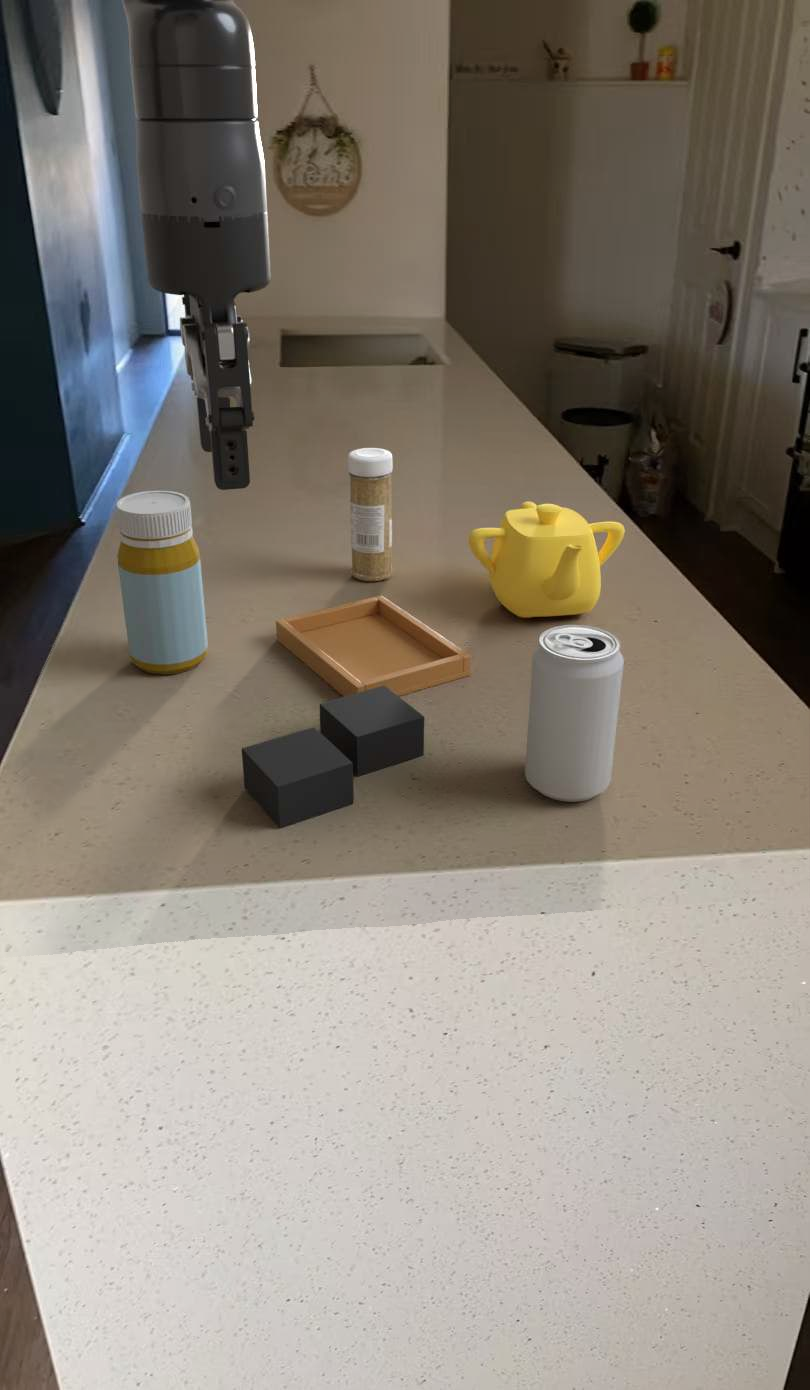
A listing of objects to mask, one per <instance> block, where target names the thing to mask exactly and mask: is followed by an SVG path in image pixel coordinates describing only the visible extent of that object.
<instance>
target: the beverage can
mask: <svg viewBox="0 0 810 1390" xmlns="http://www.w3.org/2000/svg"><path fill="white" fill-rule="evenodd" d="M620 648H621V642H620V640H619V639H618V637H617V636H616V635H614V634H613V633H611V632H609V631H607V630H605V629H602V628H600V627H595V626H590V625H584V624H564V625H560V626H559V625H558V626H554V627H551V628H549V629H547V630H544V631H543V632H542V633H541V634H540V636H539V639H538V645H537V646H536V647H535V649H534V650H533V652H532V662H531V677H530V691H529V707H528V720H527V721H528V722H527V735H526V752H525V764H524V765H525V766H524V767H525V768H524V775H525V778H526V780H527V782H528V783H529V784H530V786H532V788H533V789H535V790H537V791H538V792H539V793H540V794H542V795H543V796H545V797H547V798H550V799H552V800H555V801H560V802H567V803H579V802H584V801H588V800H591V799H593V798H595V797H596V796H598V795H600V794H602V793H603V792H605V791H606V790H607V789H608V787H609V786H610V783H611V781H612V780H611V779H612V773H613V772H612V771H613V763H614V753H615V743H616V734H617V727H618V726H617V725H618V718H619V717H618V716H619V708H620V702H621V701H620V699H621V691H622V682H623V673H624V663H625V661H624V660H625V659H624V656H623V655H622V653H621V649H620Z"/></svg>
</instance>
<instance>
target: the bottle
mask: <svg viewBox="0 0 810 1390" xmlns="http://www.w3.org/2000/svg"><path fill="white" fill-rule="evenodd" d="M115 510H116V518H117V526H118V529H119V532H118V533H119V540H120V543H119V547H118V551H117V554H116V556H117V566H118V574H119V582H120V589H121V590H120V591H121V597H122V599H121V600H122V605H123V606H122V607H123V612H124V613H123V614H124V621H125V622H124V623H125V629H126V636H127V646H128V653H129V657H130V661H131V662H132V663H133V664H134V665H135V666H136V667H138V668H139V669H140V670H141V671H144V672H146V673H149V674H154V675H174V674H175V675H176V674H181V673H184V672H187V671H190V670H192V669H195V668H196V667H198V666H199V665H200V664H201V663H202V662H203V661H204V660H205V658H206V657H207V655H208V652H209V648H208V642H209V641H208V631H207V621H206V620H207V619H206V610H205V609H206V608H205V599H204V598H205V597H204V586H203V576H202V563H201V562H202V561H201V556H200V555H201V554H200V550H199V546H198V544H197V543H196V541H195V538H194V536H193V525H192V523H193V521H192V520H193V519H192V508H191V501H190V498H189V496H187V495H186V494H183V493H181V492H177V491H171V490H146V491H140V492H134V493H131V494H127V495H125V496H123V497H121V498H119V500H117V502H116V505H115Z"/></svg>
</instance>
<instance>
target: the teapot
mask: <svg viewBox="0 0 810 1390" xmlns="http://www.w3.org/2000/svg"><path fill="white" fill-rule="evenodd" d="M594 533H607V537H606V540H605V542H604V544H603V545H602V547H601V548H600V549H599V551H598V547H597V543H596V540H595V536H594ZM625 533H626V530H625V527H624V525H623V524H622V523H620V522H618V521H600V522H594V523H589V522H588V521H587V519H586V518H585V517H583V516H582V515H581V514H580V513H578V512H577V511H575V510H573V509H571V508H568V507H561V506H560V505H558V504H553V503H541V504H539V505H537V504H536V503H534V502H533V501H524V502H523V503H521V505H520V508H516V509H509V510H507V511H506V512H505V513H504V515H503V517H502V519H501V522H500V524H499V527H479V528H476V529H473V530H472V531H470V533H469V534H468V538H467V540H468V545H469V549H470V550H471V552H472V554H473V555H474V557H475V558H476V560H478V561H479V563H480V564H481V565H482V566H483V567H484V568H485V569H486V570H487V571H488V579H489V583H490V586H491V588H492V591H493V593H494V594H495V596H496V598H497V600H498V601H499V602H500V603H501V605H502V606H503V607H504V608H506V610H508V611H509V612H511V613H512V614H514V615H515V616H517V617H519V618H523V619H530V618H535V617H536V618H537V617H540V618H541V617H558V616H576V615H580V614H587V613H589V612H591V611H592V610H593V609H594V607H595V606H596V604H597V602H598V600H599V598H600V597H601V596H600V595H601V588H602V576H601V567H602V565H603V564H604V563H605V562H606V561H607V560H608V559H609V558H610V557H611V556H612V555H613V554H614V553H615V551H616V550H617V549H618V547H619V546H620V545H621V543H622V541H623V539H624V536H625ZM492 538H494V540H493V544H492V548H491V552H490V556H489V554H488V551H487V548H486V546H485V541H486V540H488V539H492Z"/></svg>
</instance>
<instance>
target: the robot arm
mask: <svg viewBox="0 0 810 1390" xmlns="http://www.w3.org/2000/svg"><path fill="white" fill-rule="evenodd" d="M234 1H235V0H121V2H122V6H123V10H124V14H125V19H126V22H127V30H128V41H129V42H128V51H129V65H130V77H131V86H132V95H133V104H134V115H135V119H136V121H135V125H136V126H135V127H136V145H135V146H136V149H135V151H136V152H135V159H136V160H135V161H136V162H135V165H136V175H137V176H136V177H137V187H138V195H139V205H140V206H139V207H140V216H141V226H142V234H143V244H144V251H145V252H144V253H145V254H144V255H145V263H146V272H147V281H148V284H149V285H150V287H151V288H152V289H154V290H155V291H157V292H160V293H163V294H167V295H175V296H181V303H182V305H183V306H184V316H185V317H179V330H180V337H181V343H182V345H183V346H184V360H185V367H186V368H185V369H186V373H187V375H188V376H190V380H191V381H192V382H191V383H190V384H191V391H193V394H194V396H195V397H196V396H197V397H196V405H197V418H198V429H199V430H198V431H199V440H200V441H199V442H200V446H201V449H202V450H203V451H204V452H206V453H211V460H212V471H213V472H212V473H213V481H214V484H215V487H216V488H217V489H219V490H221V491H227V490H236V489H237V490H241V489H246V488H247V487H249V485H250V483H251V477H250V460H249V459H250V458H249V444H248V431H247V430H249V429H250V428H251V427H253V426H254V421H255V413H254V411H253V406H252V393H251V388H252V382H253V380H252V373H251V367H250V360H249V348H250V340H251V339H250V332H249V325H248V322H247V321H244V320H243V316H242V314H237V308H236V307H237V306H236V303H235V301H236V298H237V296H238V295H239V294H241V293H248V294H249V293H255V292H258V291H261V290H263V289H265V288H267V287H268V285H269V284H270V282H271V279H272V276H271V260H270V258H271V256H270V255H271V254H270V238H269V237H270V236H269V220H268V219H269V218H268V201H267V181H266V180H267V179H266V167H265V165H266V164H265V158H264V157H265V156H264V151H263V146H262V139H261V134H260V125H259V121H258V120H257V119H258V116H259V115H258V101H257V100H258V98H257V97H258V96H257V81H256V68H255V67H256V60H255V57H256V56H255V47H254V40H253V33H252V27H251V25H250V21H249V19H248V17H247V16H246V13H244V11H243V10H242V9H241V8H240V7H239V6H238V5H237V4H236V3H235V2H234ZM137 119H138V120H137ZM231 398H234V399H235V400H236V405H237V406H231Z"/></svg>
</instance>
